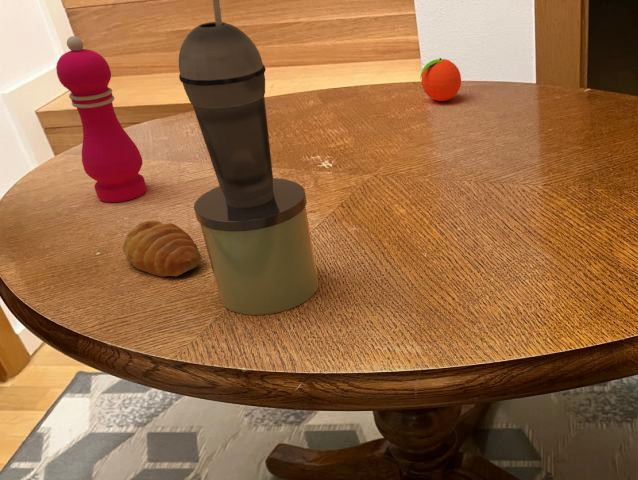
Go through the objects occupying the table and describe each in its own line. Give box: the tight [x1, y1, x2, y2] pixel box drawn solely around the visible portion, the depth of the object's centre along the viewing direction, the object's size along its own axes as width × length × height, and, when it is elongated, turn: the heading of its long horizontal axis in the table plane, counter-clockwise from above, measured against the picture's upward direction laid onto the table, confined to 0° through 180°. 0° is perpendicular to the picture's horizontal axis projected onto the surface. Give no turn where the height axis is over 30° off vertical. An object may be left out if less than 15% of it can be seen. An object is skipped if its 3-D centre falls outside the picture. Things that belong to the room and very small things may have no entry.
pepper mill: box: [55, 35, 148, 203], centre depth 93 cm, size 7×7×20 cm
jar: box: [193, 177, 319, 316], centre depth 72 cm, size 10×10×10 cm
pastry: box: [122, 220, 202, 277], centre depth 80 cm, size 9×7×4 cm
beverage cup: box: [178, 0, 274, 208], centre depth 64 cm, size 7×7×20 cm
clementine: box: [419, 57, 462, 102], centre depth 126 cm, size 8×7×7 cm
